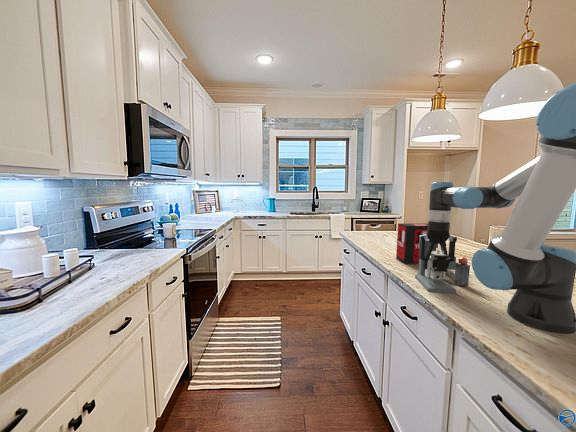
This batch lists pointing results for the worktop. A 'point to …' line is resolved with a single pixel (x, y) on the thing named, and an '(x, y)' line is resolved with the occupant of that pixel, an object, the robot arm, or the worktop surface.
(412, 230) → the cleaning product box
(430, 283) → the press
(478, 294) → the worktop surface
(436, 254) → the pneumatic valve
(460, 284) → the lever
